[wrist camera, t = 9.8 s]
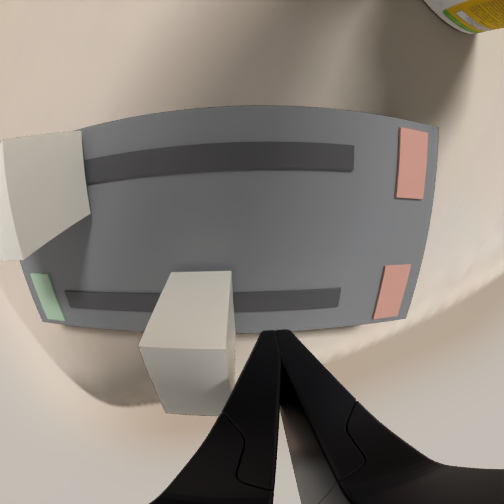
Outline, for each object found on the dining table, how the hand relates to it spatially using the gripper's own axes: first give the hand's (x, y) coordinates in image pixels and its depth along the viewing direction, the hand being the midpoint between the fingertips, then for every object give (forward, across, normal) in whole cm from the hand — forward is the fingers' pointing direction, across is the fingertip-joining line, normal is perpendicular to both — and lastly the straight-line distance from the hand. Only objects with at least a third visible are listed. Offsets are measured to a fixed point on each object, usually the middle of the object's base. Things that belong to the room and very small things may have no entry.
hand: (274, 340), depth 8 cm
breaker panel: (+5, +2, -3) cm, 6 cm away
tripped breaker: (+2, +2, 0) cm, 3 cm away
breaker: (+2, +7, -5) cm, 9 cm away
